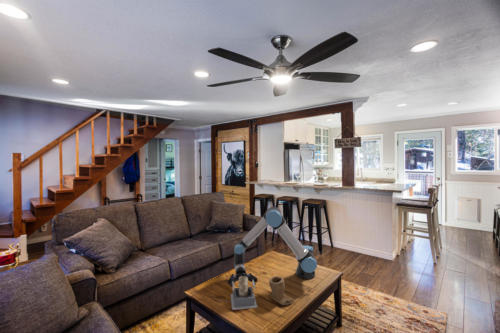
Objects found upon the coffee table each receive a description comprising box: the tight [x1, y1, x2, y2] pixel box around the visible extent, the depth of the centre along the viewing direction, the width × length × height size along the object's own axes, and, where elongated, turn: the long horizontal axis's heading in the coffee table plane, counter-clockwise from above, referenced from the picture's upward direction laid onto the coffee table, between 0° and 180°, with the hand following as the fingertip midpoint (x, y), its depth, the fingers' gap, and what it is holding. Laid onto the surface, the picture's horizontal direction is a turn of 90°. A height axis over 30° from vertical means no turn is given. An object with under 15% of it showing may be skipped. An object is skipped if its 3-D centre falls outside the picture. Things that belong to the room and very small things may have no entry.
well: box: [230, 286, 258, 311], centre depth 159 cm, size 16×16×6 cm
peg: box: [238, 276, 249, 298], centre depth 159 cm, size 6×6×15 cm
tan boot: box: [268, 275, 295, 306], centre depth 159 cm, size 15×12×15 cm
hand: (244, 287), depth 155 cm, fingers open, 13 cm apart
